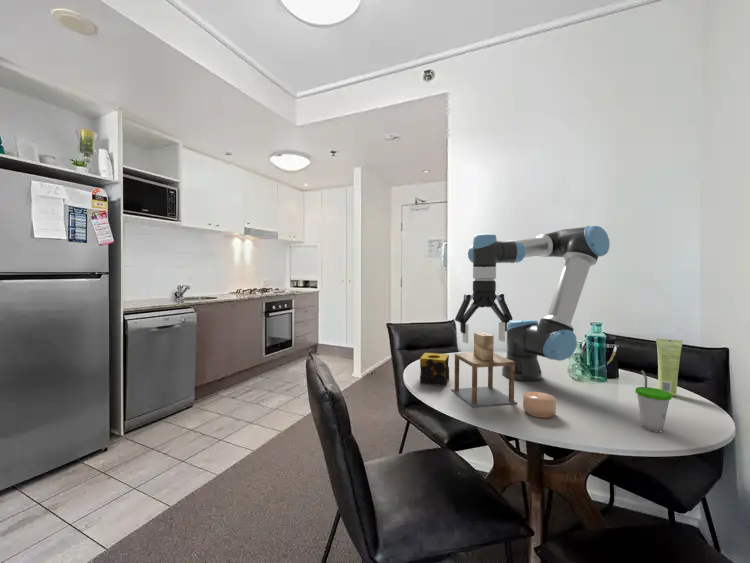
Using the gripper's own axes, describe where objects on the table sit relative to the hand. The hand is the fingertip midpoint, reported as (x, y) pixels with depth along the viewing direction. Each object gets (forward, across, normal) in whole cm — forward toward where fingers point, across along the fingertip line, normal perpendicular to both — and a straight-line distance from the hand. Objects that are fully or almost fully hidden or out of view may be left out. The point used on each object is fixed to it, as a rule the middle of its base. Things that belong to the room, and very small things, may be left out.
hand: (483, 341), depth 118 cm
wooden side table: (+19, 0, 0) cm, 19 cm away
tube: (+20, -66, +10) cm, 69 cm away
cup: (+19, -34, +31) cm, 50 cm away
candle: (+19, +10, -19) cm, 29 cm away
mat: (+19, 0, 0) cm, 19 cm away
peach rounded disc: (+19, -10, +16) cm, 27 cm away
